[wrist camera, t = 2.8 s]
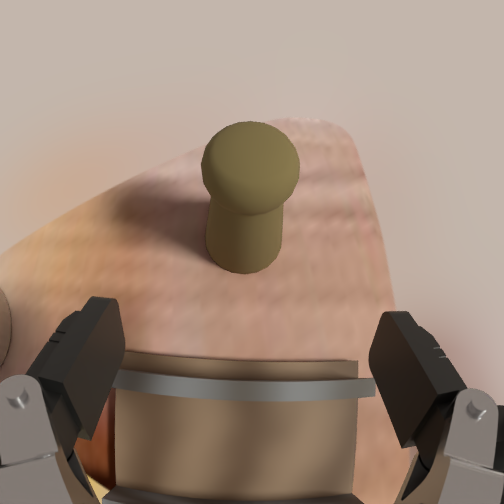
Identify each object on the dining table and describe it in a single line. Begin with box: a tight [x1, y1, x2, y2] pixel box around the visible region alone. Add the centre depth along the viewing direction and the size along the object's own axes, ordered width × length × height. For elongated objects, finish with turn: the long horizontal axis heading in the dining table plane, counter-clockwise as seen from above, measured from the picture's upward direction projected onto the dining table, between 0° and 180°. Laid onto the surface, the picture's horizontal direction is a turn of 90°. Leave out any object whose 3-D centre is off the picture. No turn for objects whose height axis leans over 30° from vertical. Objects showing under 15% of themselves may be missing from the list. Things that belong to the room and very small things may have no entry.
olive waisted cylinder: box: [201, 121, 300, 274], centre depth 20 cm, size 6×6×11 cm
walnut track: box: [102, 351, 375, 504], centre depth 18 cm, size 17×13×4 cm
